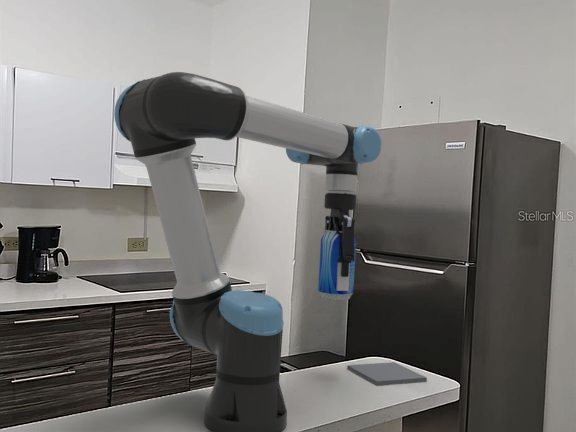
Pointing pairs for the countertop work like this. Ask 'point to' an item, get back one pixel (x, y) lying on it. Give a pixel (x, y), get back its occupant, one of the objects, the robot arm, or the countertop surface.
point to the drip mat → (386, 373)
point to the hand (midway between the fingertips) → (335, 287)
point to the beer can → (333, 268)
